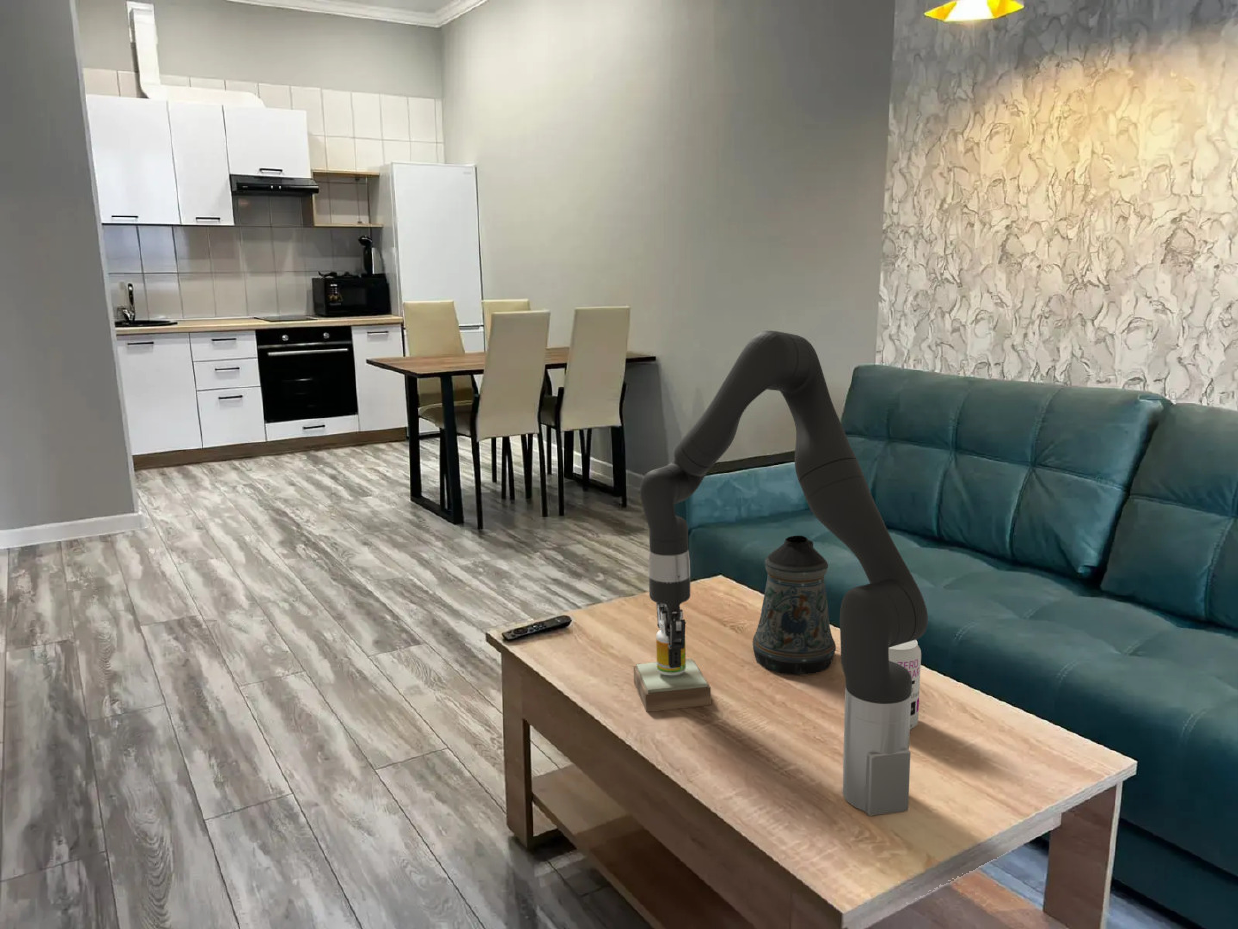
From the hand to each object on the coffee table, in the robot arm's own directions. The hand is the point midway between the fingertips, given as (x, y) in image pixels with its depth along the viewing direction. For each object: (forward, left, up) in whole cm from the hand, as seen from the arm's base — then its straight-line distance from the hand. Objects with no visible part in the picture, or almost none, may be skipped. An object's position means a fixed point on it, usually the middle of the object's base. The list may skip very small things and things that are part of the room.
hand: (671, 659), depth 163 cm
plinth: (0, 0, -7) cm, 7 cm away
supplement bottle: (0, 0, -2) cm, 2 cm away
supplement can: (-19, -35, -7) cm, 40 cm away
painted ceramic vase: (+11, -28, -7) cm, 31 cm away
